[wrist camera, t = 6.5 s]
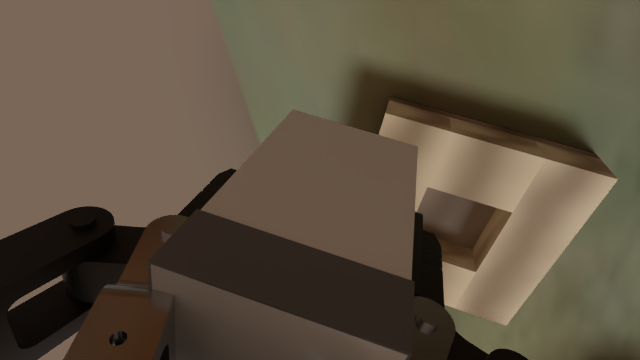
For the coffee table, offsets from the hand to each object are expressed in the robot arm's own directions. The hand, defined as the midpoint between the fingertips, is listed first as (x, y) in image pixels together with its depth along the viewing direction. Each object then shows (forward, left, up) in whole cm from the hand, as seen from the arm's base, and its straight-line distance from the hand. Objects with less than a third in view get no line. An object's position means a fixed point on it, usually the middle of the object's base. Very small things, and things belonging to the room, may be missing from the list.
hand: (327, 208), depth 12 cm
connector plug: (0, 0, -2) cm, 2 cm away
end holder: (-9, +10, -20) cm, 24 cm away
